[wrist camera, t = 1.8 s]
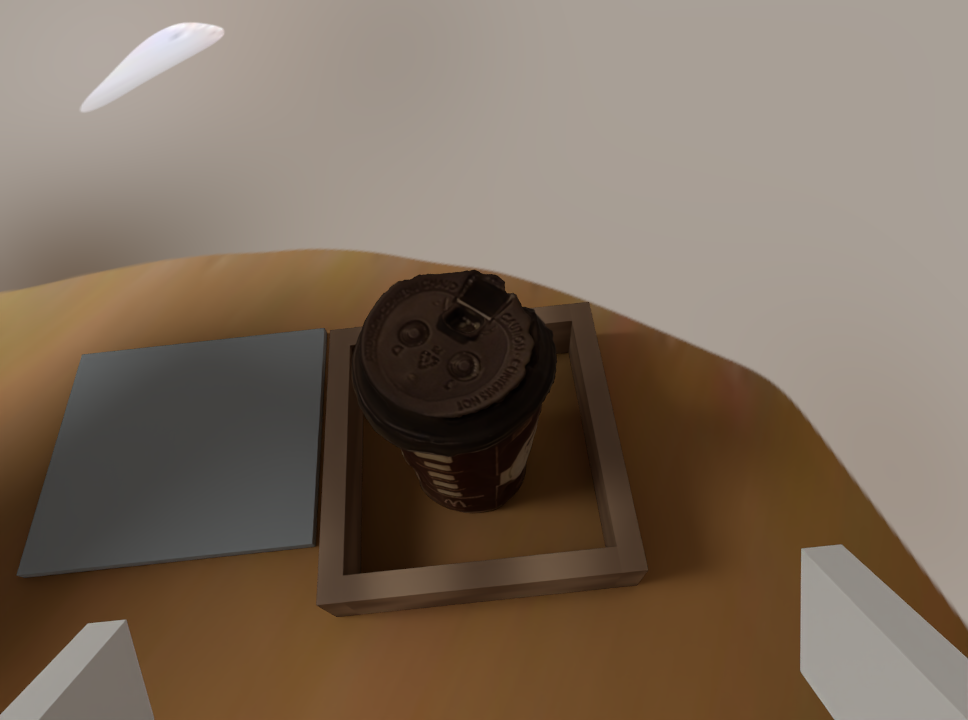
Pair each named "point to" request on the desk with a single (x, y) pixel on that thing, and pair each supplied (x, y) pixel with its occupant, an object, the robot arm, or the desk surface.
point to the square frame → (487, 579)
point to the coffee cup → (456, 383)
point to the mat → (184, 455)
